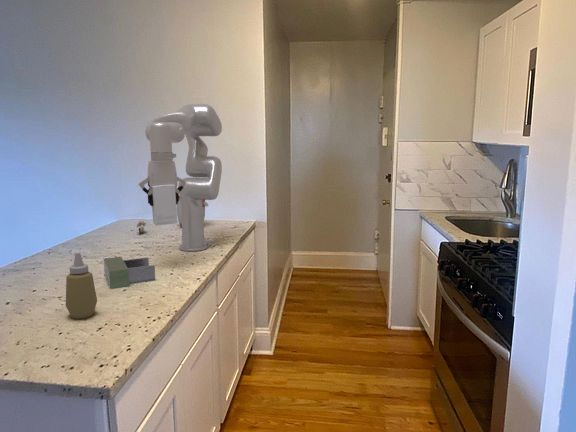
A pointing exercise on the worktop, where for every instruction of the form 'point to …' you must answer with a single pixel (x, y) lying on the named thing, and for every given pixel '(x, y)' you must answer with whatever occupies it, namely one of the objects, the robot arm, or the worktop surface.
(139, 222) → the beige brown figurine
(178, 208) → the citrus juicer
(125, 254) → the worktop surface
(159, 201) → the skincare box
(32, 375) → the worktop surface
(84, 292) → the squeeze bottle
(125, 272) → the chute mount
